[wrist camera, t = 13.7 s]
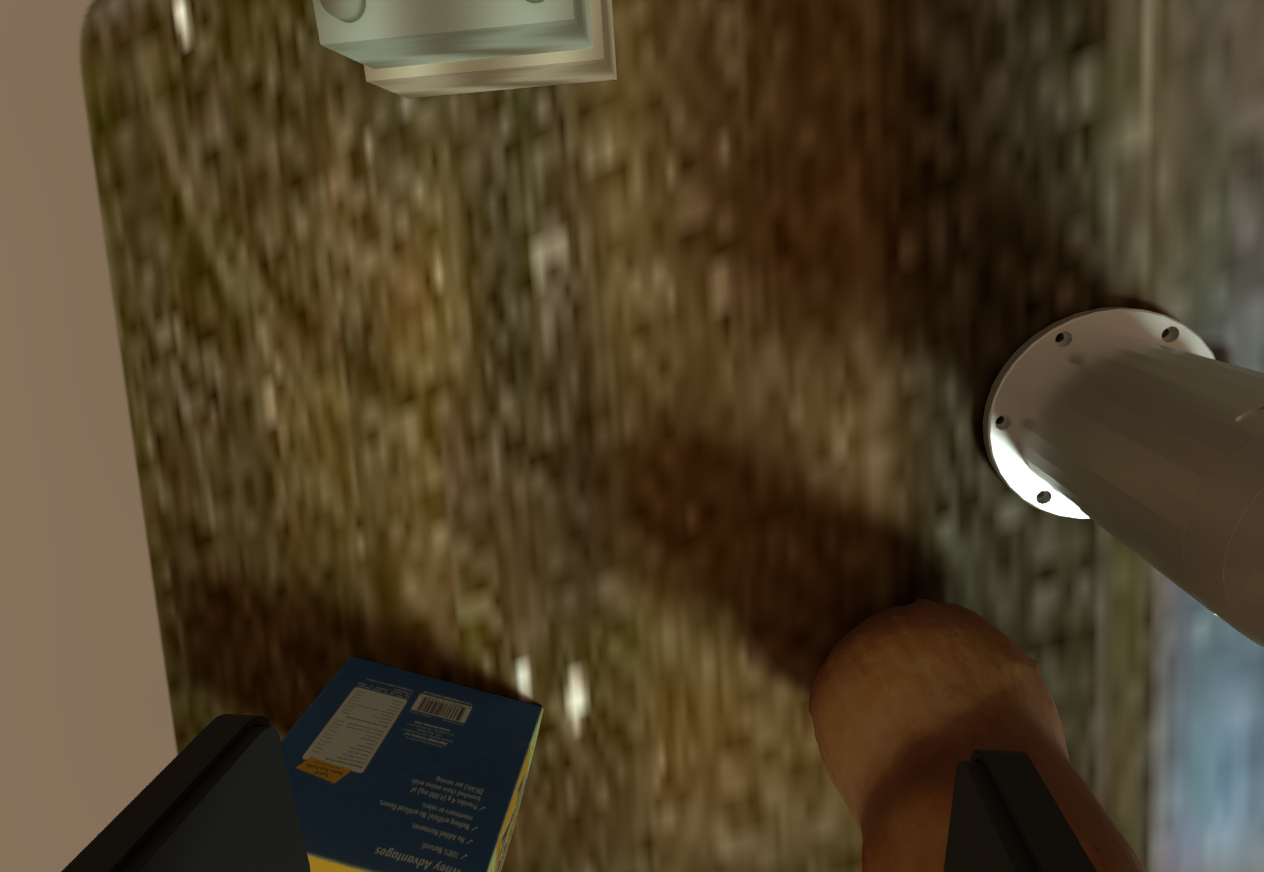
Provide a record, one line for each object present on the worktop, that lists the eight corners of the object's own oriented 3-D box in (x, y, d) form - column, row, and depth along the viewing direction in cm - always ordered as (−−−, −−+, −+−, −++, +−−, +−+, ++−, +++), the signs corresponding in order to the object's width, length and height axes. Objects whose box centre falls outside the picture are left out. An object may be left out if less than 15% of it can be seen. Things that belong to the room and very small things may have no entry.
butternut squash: (770, 607, 46) (841, 1016, 22) (969, 539, 43) (1291, 925, 20) (841, 763, 49) (970, 1264, 26) (1031, 709, 47) (1372, 1217, 23)
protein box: (522, 809, 54) (454, 1031, 39) (335, 759, 54) (199, 961, 40) (547, 704, 51) (483, 903, 36) (348, 651, 51) (203, 827, 36)
